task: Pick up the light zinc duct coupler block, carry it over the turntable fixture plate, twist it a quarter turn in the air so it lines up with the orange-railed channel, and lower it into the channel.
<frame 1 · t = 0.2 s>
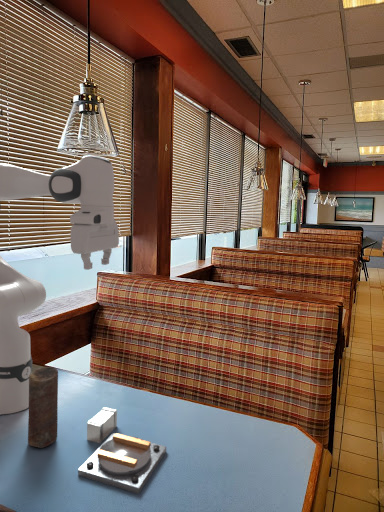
hand: (97, 266, 106), 47 cm above the table, tool pointing down, fingers open, 8 cm apart
candle: (43, 443, 102), on the table
turntable fixture plate: (124, 462, 96), on the table
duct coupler: (102, 432, 108), on the table
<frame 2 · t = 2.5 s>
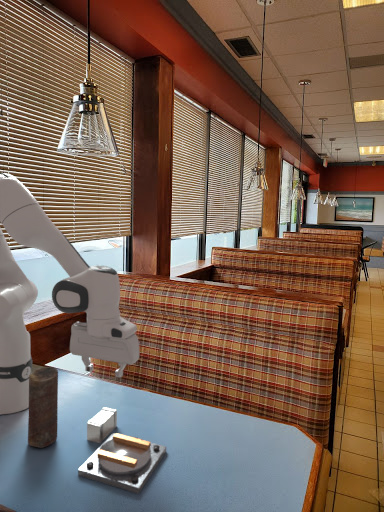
hand: (104, 373, 106), 18 cm above the table, tool pointing down, fingers open, 8 cm apart
nothing on the table moved.
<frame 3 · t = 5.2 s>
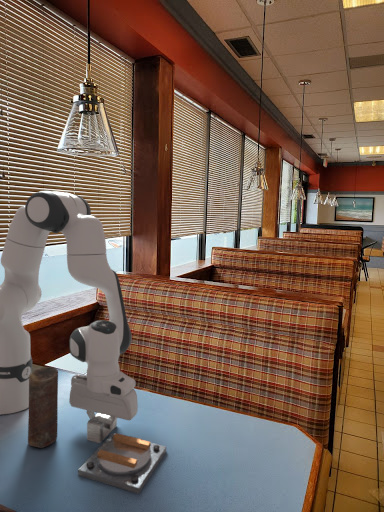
hand: (102, 426, 108), 2 cm above the table, tool pointing down, fingers closed on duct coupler, 4 cm apart
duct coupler: (102, 432, 108), on the table, touching gripper
everything else where it was.
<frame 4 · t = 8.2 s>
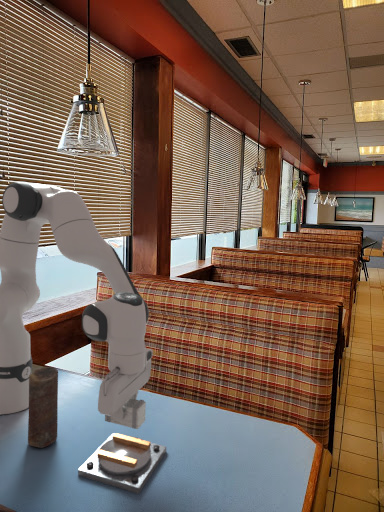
hand: (125, 413, 94), 13 cm above the table, tool pointing down, fingers closed on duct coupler, 4 cm apart
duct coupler: (125, 420, 94), point 11 cm above the table, touching gripper
everything else where it was.
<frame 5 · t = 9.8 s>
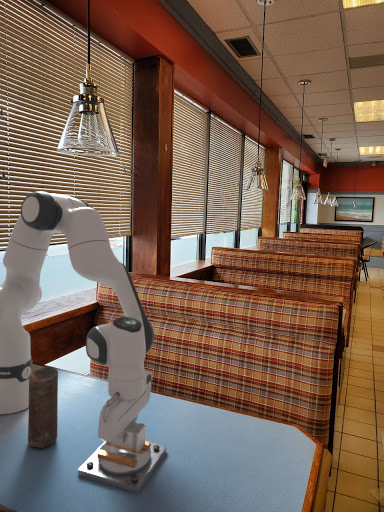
hand: (125, 437, 95), 7 cm above the table, tool pointing down, fingers closed on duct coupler, 4 cm apart
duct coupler: (125, 444, 95), point 5 cm above the table, touching gripper
everything else where it was.
when the fingers open (5 cm above the table, at t = 11.0 s): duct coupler stays where it is, resting on turntable fixture plate.
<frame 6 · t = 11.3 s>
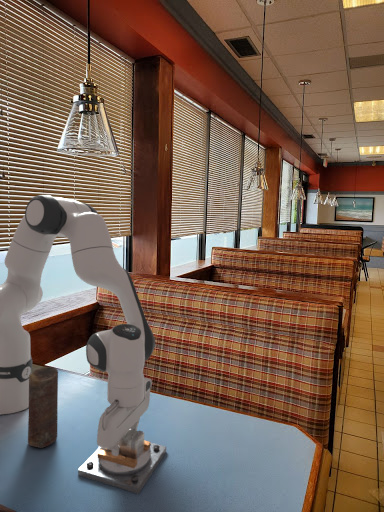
hand: (124, 444, 95), 5 cm above the table, tool pointing down, fingers open, 7 cm apart
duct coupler: (124, 451, 95), point 3 cm above the table, touching turntable fixture plate
everything else where it was.
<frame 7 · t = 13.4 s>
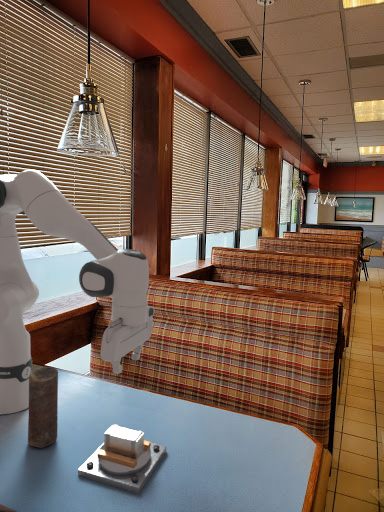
hand: (126, 365, 98), 23 cm above the table, tool pointing down, fingers open, 8 cm apart
nothing on the table moved.
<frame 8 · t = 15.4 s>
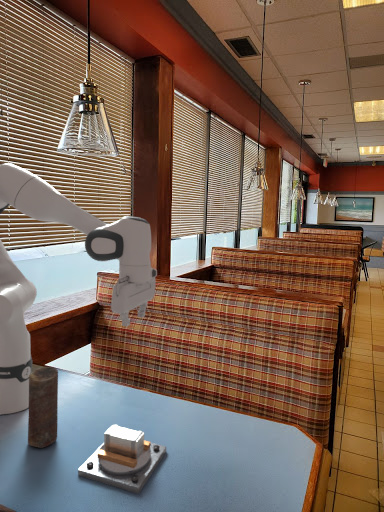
hand: (133, 321, 110), 31 cm above the table, tool pointing down, fingers open, 8 cm apart
nothing on the table moved.
at the end: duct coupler inside the target area on the turntable fixture plate (0.2 cm from its centre), point 3.0 cm above the turntable fixture plate's base; the gripper is holding nothing; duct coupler tilted 0° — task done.
